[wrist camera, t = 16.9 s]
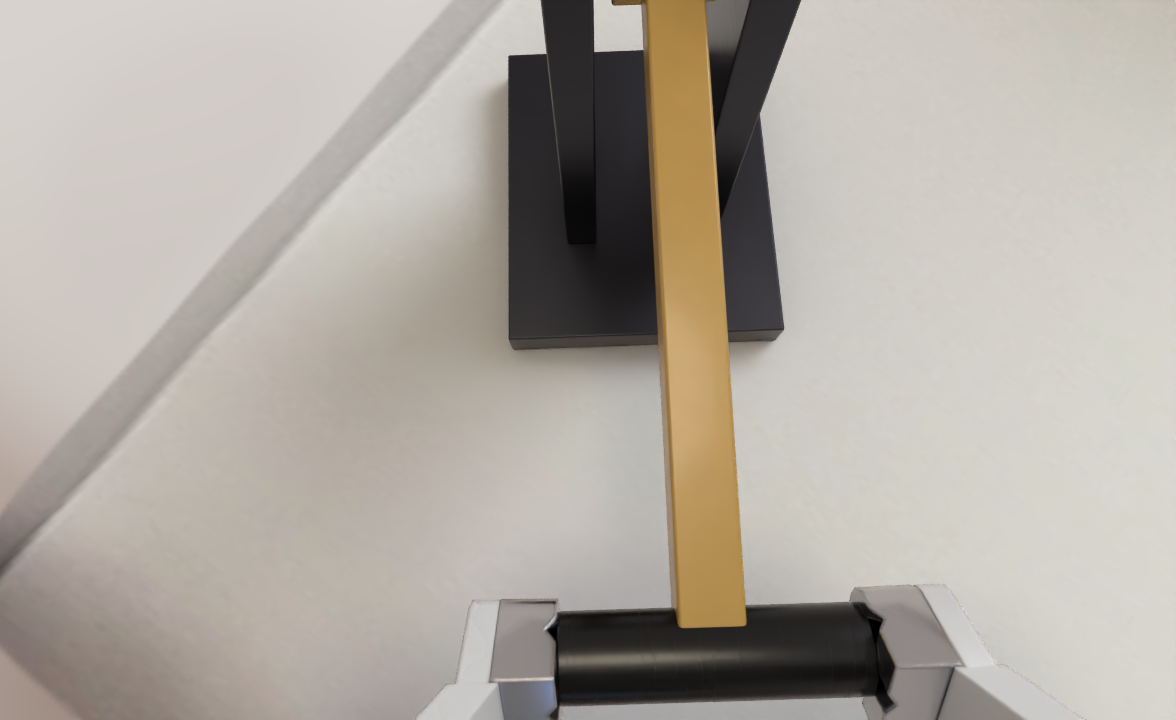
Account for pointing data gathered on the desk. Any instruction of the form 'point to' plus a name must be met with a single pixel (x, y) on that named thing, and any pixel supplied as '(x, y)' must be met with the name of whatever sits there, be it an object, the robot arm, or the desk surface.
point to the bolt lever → (701, 452)
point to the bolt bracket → (630, 181)
